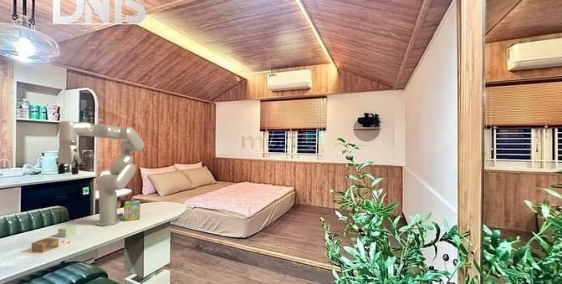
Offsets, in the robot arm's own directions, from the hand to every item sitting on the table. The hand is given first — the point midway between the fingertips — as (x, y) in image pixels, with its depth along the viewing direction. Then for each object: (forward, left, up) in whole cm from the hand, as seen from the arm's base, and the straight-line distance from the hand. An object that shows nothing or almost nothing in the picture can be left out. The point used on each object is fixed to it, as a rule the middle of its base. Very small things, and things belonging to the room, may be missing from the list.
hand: (68, 174), depth 140 cm
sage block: (0, -2, -36) cm, 36 cm away
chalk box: (-35, +8, -36) cm, 51 cm away
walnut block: (+16, +6, -35) cm, 38 cm away
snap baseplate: (+14, +6, -36) cm, 39 cm away
